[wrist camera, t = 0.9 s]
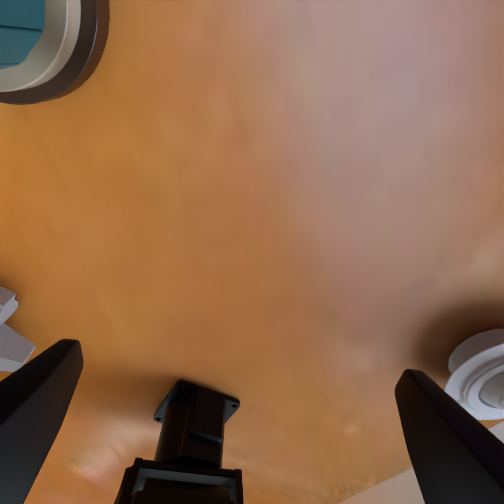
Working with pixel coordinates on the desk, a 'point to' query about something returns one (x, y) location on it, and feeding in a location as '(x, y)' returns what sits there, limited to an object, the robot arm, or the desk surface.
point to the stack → (59, 53)
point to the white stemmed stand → (479, 375)
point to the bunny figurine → (11, 336)
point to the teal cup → (19, 29)
